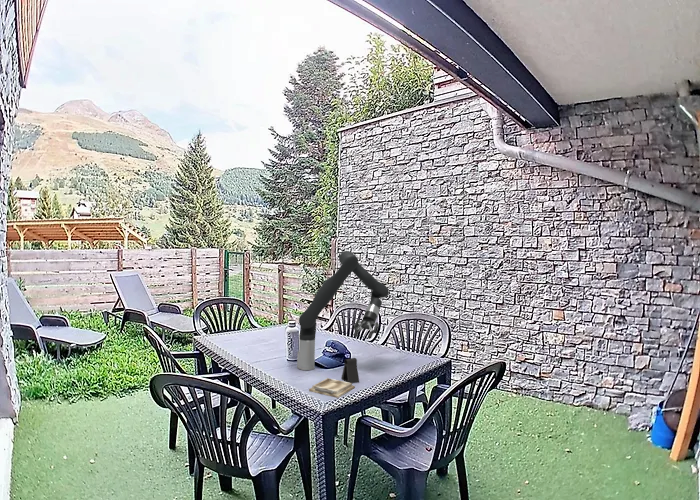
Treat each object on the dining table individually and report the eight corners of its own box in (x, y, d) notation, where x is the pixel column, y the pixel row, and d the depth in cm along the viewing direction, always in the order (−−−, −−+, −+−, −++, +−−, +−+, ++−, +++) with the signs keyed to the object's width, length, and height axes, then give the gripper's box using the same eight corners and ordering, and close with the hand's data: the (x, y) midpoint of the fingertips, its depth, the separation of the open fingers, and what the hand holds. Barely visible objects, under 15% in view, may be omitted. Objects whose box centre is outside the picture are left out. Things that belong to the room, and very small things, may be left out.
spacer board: (308, 391, 227) (309, 386, 227) (326, 381, 242) (327, 377, 242) (338, 397, 219) (338, 392, 219) (354, 387, 233) (355, 383, 233)
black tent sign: (359, 382, 242) (359, 360, 242) (349, 384, 239) (350, 361, 239) (350, 377, 250) (351, 356, 249) (341, 379, 247) (341, 357, 246)
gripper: (358, 309, 267) (348, 332, 257) (380, 311, 260) (371, 335, 250) (362, 316, 271) (353, 339, 262) (384, 319, 264) (375, 342, 255)
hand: (362, 337), depth 256 cm, fingers open, 8 cm apart
